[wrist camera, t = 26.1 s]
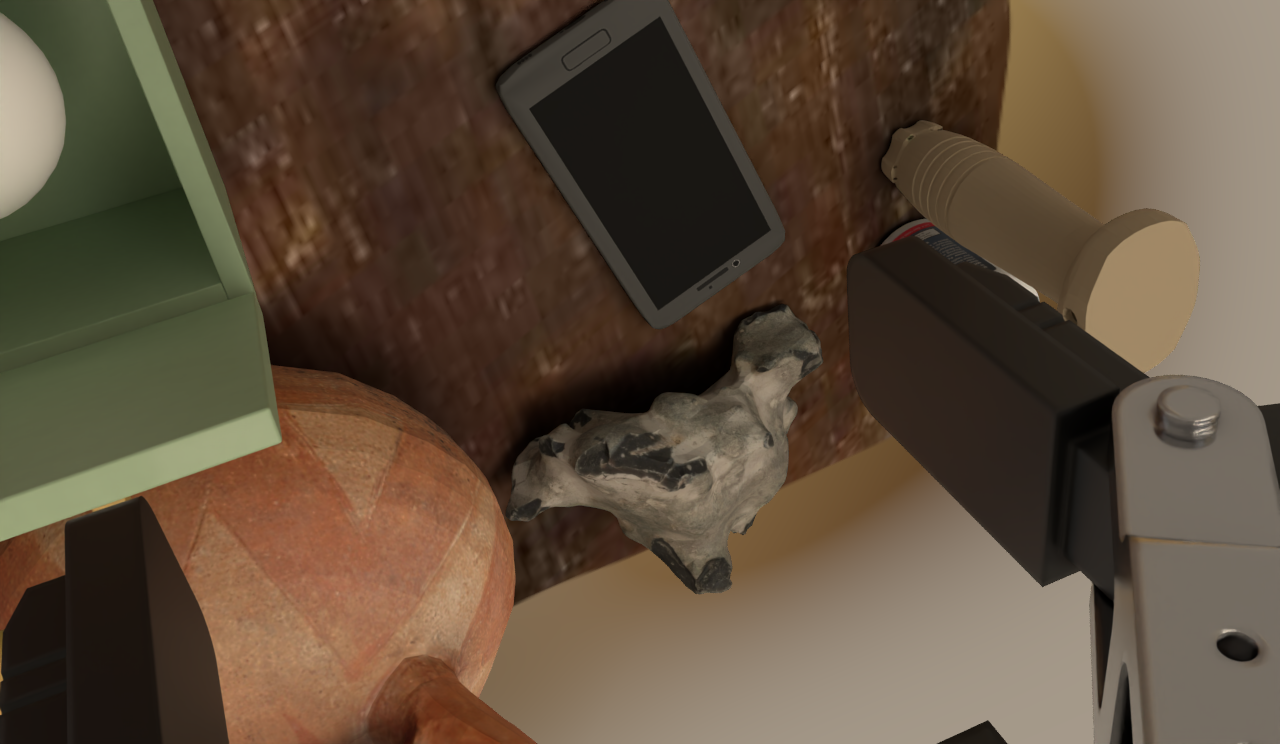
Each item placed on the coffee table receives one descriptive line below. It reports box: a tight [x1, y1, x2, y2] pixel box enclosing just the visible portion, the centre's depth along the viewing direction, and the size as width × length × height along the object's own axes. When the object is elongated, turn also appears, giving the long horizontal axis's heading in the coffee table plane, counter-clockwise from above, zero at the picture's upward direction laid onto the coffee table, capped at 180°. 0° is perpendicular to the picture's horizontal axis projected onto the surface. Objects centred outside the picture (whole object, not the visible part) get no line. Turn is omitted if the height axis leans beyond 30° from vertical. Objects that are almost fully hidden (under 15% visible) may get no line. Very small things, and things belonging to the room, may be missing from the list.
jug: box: [0, 365, 537, 744], centre depth 42 cm, size 18×18×20 cm
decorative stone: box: [506, 304, 823, 594], centre depth 53 cm, size 16×9×10 cm, turn 107°
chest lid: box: [0, 292, 282, 715], centre depth 30 cm, size 14×12×5 cm
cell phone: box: [496, 0, 785, 329], centre depth 49 cm, size 7×14×1 cm, turn 29°
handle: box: [881, 120, 1200, 373], centre depth 49 cm, size 5×6×15 cm
